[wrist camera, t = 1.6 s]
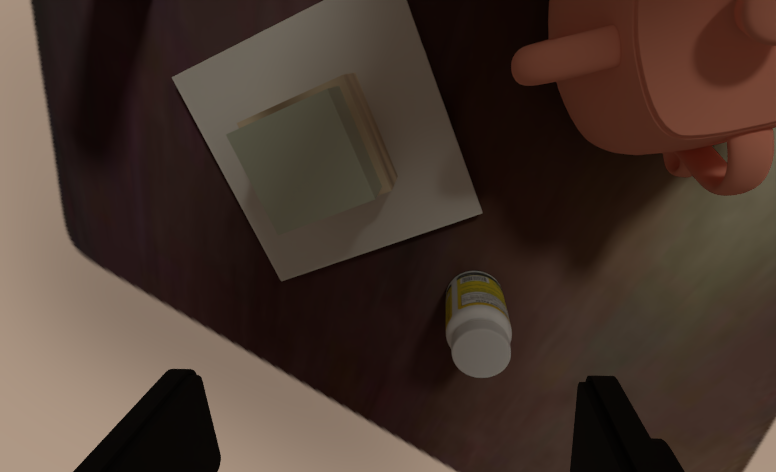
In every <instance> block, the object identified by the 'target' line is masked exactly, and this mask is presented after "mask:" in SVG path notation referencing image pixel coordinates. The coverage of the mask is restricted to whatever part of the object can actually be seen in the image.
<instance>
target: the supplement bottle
mask: <svg viewBox="0 0 776 472" xmlns="http://www.w3.org/2000/svg"><path fill="white" fill-rule="evenodd" d="M511 338H512V329H511V324H510V320H509V316H508V312H507V308H506V304H505V300H504V296H503V292H502V289H501V287H500V285H499V283H498V282H497V281H496V279H495V278H493V277H492V276H490V275H489V274H487V273H484V272H480V271H468V272H464V273H462V274H460V275H458V276H456V277H455V278H454V279H453V280H452V281H451V282H450V284H449V286H448V288H447V290H446V339H447V342H448V345H449V347H450V348H451V353H452V358H453V361H454V363H455V365H456V366H457V367H458V368H459V370H461V371H462V372H463V373H465V374H467V375H469V376H472V377H476V378H487V377H492V376H494V375H497V374H499V373H500V372H502V371H503V370H504V369H505V368H506V366H507V365H508V363H509V361H510V358H511V349H510V342H511Z"/></svg>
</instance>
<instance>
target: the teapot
mask: <svg viewBox="0 0 776 472" xmlns="http://www.w3.org/2000/svg"><path fill="white" fill-rule="evenodd" d="M548 38H549V39H548V40H544V41H540V42H537V43H533V44H530V45H527V46H524V47H522V48H521V49H519V50H518V51H517V52H516V53H515V55H514V56H513V58H512V62H511V71H512V75H513V77H514V79H515V81H516V82H518V83H519V84H521V85H524V86H534V85H541V84H547V83H552V82H556V83H557V86H558V90H559V92H560V95H561V97H562V100H563V102H564V105H565V107H566V109H567V111H568V113H569V115H570V117H571V119H572V121H573V122H574V124H575V126H576V127H577V129H578V130H579V132H580V133H581V134H582V135H583V136H584V137H585V138H586V140H587V141H589V142H590V143H592V144H594V145H595V146H597V147H599V148H601V149H604V150H607V151H609V152H613V153H619V154H628V155H645V154H656V153H663V160H664V164H665V167H666V169H667V171H668V172H669V173H670V174H672V175H674V176H677V177H691V176H693V177H694V178H695V179H696V180H697V181H698V182H699V183H700V184H701V185H702V186H703V187H704V188H705V189H706V190H708V191H709V192H711V193H714V194H717V195H724V196H727V195H737V194H742V193H745V192H747V191H750V190H752V189H754V188H756V187H757V186H758V185H760V184H761V183H762V181H763V180H764V179H765V178H766V176H767V174H768V172H769V170H770V167H771V164H772V161H773V154H774V136H773V129H772V128H775V127H776V0H549V14H548ZM724 142H727V149H728V162H726V161H725V160H724V159H723V158H722V157H721V156H720V155H719V154H718V152H717V151H716V150H715V149H714V148H713V147H712V145H716V144H720V143H724Z"/></svg>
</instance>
